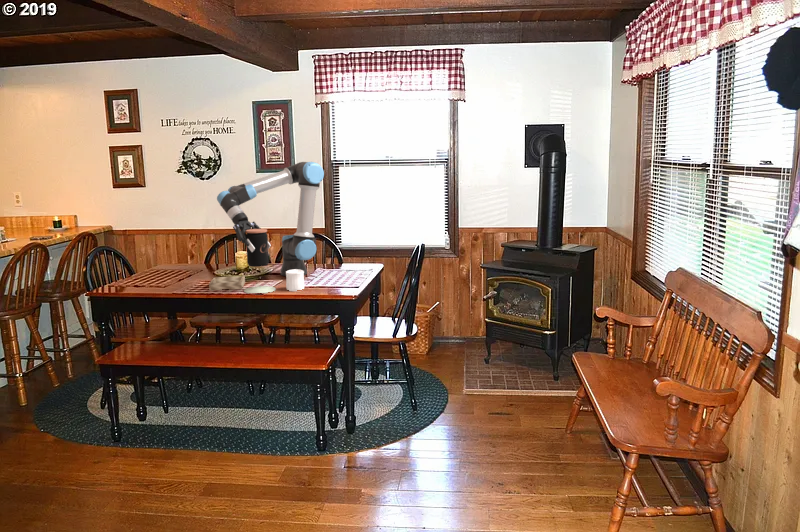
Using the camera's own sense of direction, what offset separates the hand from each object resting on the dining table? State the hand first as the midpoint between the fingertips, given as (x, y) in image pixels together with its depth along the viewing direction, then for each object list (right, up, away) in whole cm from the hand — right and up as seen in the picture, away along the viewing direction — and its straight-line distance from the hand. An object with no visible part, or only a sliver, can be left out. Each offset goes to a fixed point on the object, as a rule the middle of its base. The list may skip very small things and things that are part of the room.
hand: (261, 248), depth 332 cm
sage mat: (-2, -21, +6) cm, 22 cm away
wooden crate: (-22, -20, +17) cm, 34 cm away
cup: (+16, -21, +7) cm, 27 cm away
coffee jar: (-2, -8, +3) cm, 9 cm away
